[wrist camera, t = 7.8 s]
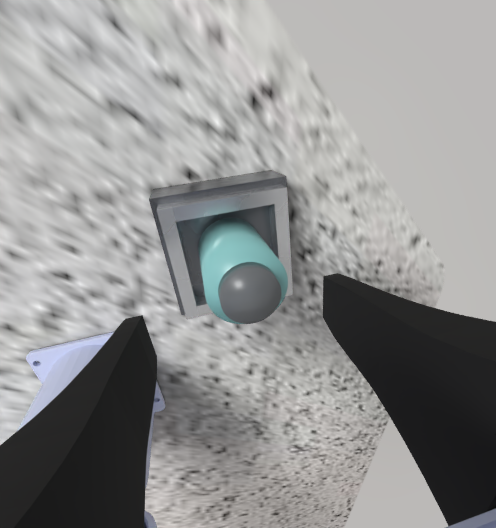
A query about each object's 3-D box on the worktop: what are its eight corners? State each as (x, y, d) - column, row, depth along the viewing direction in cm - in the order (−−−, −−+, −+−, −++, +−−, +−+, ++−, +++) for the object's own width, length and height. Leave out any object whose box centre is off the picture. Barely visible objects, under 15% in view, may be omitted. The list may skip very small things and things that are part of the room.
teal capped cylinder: (264, 267, 19) (297, 320, 14) (206, 282, 18) (217, 343, 13) (255, 211, 17) (289, 246, 12) (191, 226, 17) (196, 270, 11)
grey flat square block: (279, 271, 23) (298, 298, 19) (181, 292, 22) (181, 325, 18) (271, 170, 19) (293, 179, 15) (153, 189, 18) (146, 204, 14)
